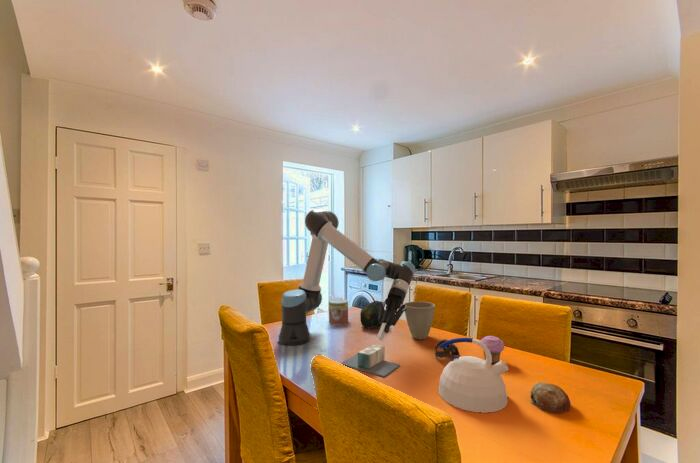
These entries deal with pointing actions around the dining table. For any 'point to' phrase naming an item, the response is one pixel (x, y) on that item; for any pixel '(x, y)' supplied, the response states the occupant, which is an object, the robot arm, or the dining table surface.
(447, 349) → the vr controller
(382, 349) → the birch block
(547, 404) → the brown rounded lump
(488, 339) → the cupcake
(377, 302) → the squash
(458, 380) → the kettle
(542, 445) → the dining table surface
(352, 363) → the mat
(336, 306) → the canned food
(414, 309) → the plant pot
